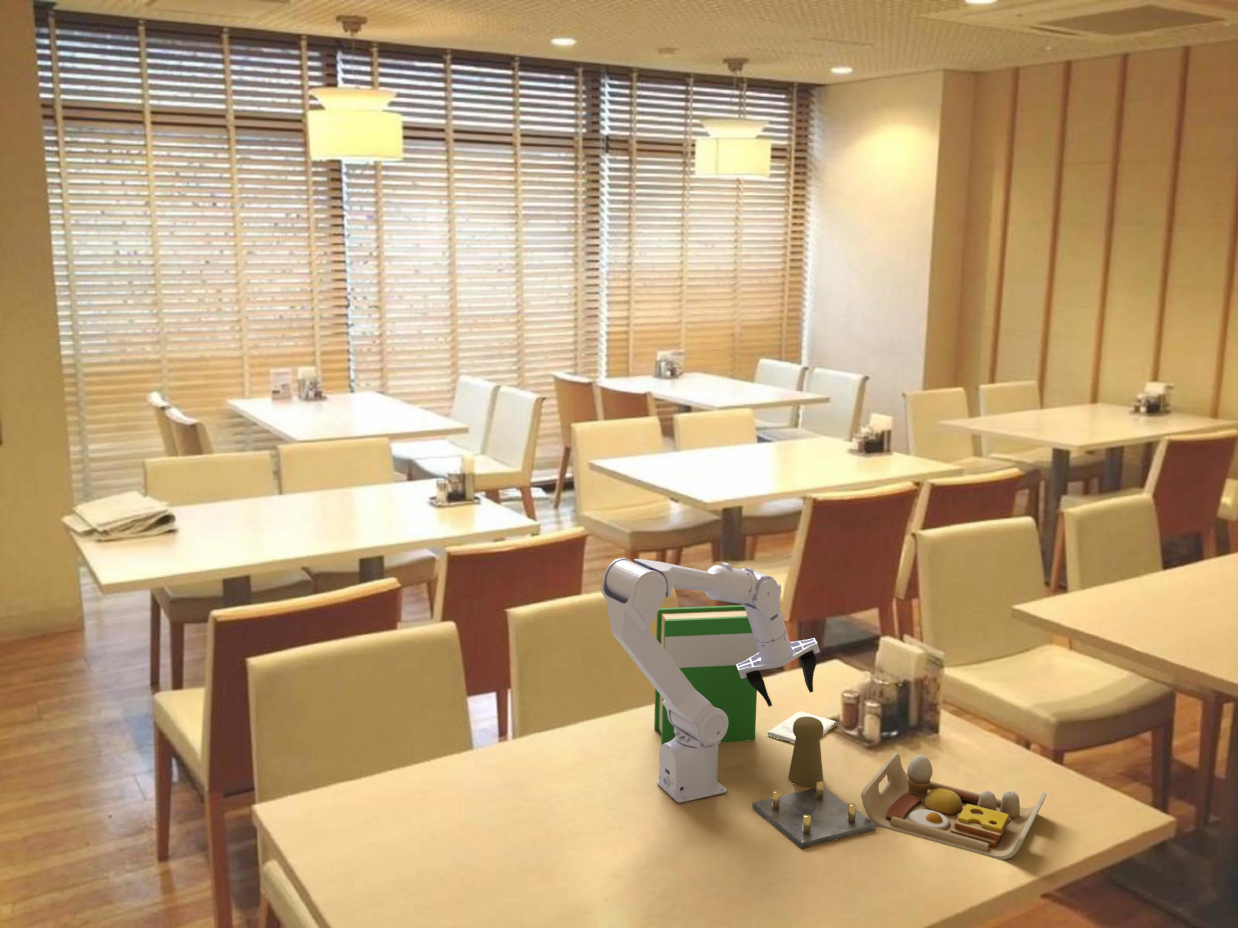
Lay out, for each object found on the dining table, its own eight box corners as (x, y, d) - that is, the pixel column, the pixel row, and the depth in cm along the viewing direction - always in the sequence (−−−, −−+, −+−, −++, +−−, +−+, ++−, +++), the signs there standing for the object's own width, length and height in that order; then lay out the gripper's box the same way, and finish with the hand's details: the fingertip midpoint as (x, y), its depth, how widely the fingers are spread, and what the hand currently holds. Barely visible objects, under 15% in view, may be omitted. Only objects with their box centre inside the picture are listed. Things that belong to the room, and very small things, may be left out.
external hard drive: (836, 729, 216) (805, 750, 206) (798, 718, 221) (766, 738, 211) (836, 721, 215) (806, 742, 206) (798, 710, 220) (767, 730, 210)
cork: (799, 767, 198) (802, 709, 196) (829, 778, 194) (833, 718, 192) (781, 779, 193) (784, 719, 191) (812, 790, 189) (815, 729, 187)
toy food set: (858, 822, 180) (861, 778, 178) (893, 778, 195) (895, 737, 194) (1022, 868, 167) (1026, 820, 166) (1045, 817, 182) (1049, 773, 181)
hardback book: (662, 745, 206) (665, 620, 201) (654, 729, 213) (657, 608, 208) (754, 740, 209) (759, 617, 204) (743, 724, 216) (748, 604, 211)
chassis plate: (801, 848, 171) (802, 827, 170) (752, 807, 183) (753, 787, 182) (875, 829, 177) (876, 809, 176) (822, 791, 189) (823, 772, 188)
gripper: (803, 608, 197) (822, 670, 202) (725, 635, 197) (745, 696, 202) (814, 627, 190) (833, 691, 195) (733, 655, 190) (754, 718, 195)
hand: (789, 695), depth 198 cm, fingers open, 7 cm apart
